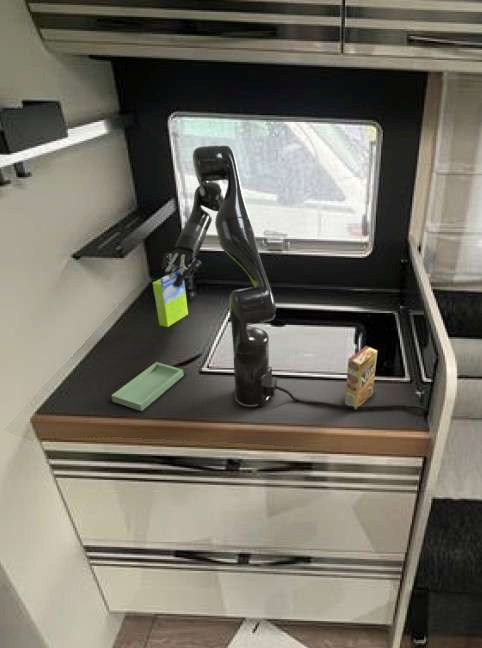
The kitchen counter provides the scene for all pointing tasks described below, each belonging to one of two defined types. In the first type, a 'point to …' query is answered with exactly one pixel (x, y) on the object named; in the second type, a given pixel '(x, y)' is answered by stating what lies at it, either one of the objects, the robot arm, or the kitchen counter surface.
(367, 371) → the candy box
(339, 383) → the kitchen counter surface
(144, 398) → the green shallow tray
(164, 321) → the box
